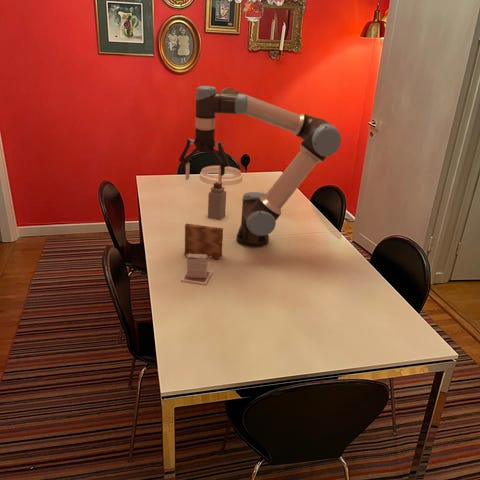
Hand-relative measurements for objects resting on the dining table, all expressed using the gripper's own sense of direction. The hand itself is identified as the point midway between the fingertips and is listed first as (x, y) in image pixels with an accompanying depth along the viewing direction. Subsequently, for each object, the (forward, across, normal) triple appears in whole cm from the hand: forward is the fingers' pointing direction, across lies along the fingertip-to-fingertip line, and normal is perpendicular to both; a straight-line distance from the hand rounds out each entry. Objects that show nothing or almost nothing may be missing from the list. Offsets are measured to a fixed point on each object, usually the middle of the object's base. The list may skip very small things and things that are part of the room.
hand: (203, 181), depth 190 cm
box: (+32, -4, +21) cm, 39 cm away
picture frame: (+33, -4, +21) cm, 39 cm away
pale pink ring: (+33, +17, -107) cm, 113 cm away
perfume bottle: (+33, +4, -43) cm, 54 cm away
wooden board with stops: (+33, -1, +1) cm, 33 cm away
